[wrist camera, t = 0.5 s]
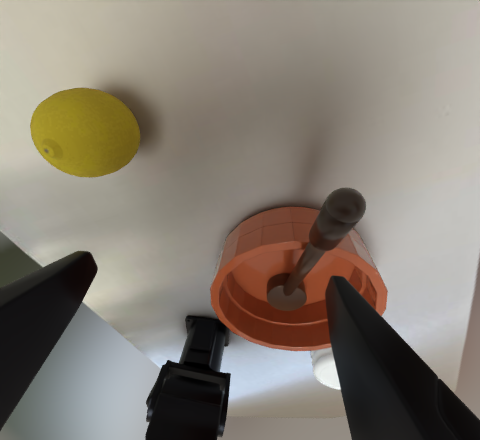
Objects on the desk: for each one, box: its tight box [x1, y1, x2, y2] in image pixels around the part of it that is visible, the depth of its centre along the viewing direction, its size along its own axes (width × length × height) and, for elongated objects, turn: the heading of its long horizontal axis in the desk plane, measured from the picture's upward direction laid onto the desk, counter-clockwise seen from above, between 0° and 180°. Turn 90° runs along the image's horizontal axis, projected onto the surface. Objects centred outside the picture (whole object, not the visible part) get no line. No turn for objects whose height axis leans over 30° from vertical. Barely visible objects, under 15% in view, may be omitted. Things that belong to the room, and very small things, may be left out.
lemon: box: [30, 88, 140, 177], centre depth 16 cm, size 6×6×8 cm
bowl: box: [210, 207, 388, 351], centre depth 23 cm, size 16×16×6 cm
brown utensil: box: [267, 188, 366, 311], centre depth 19 cm, size 19×4×10 cm, turn 178°
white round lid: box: [311, 347, 341, 390], centre depth 33 cm, size 10×10×4 cm
